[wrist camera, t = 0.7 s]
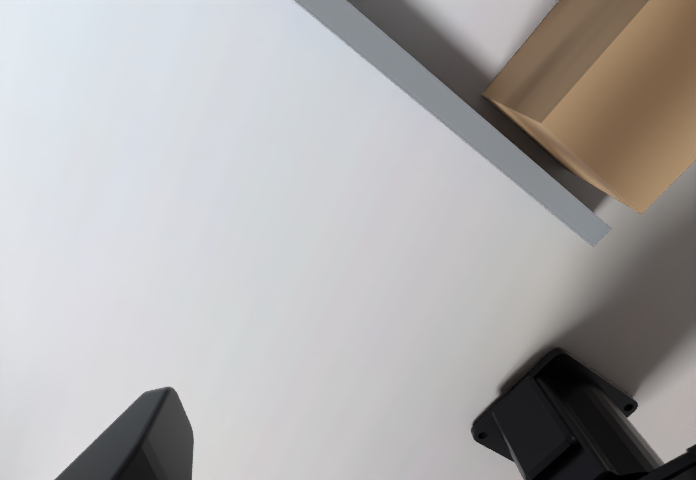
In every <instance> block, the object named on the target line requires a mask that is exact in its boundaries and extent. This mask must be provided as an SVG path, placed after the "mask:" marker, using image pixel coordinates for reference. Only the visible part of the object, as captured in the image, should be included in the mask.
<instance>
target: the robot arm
mask: <svg viewBox="0 0 696 480" xmlns="http://www.w3.org/2000/svg"><path fill="white" fill-rule="evenodd" d="M558 358H560V359H559V360H557V359H558ZM556 360H557V361H556ZM637 406H638V404H637V402H636V401H635V400H634V399H633V397H632V396H631V395H629V394H628V393H626V392H625V391H623V390H622V389H620V388H619V387H618V386H616V385H615V384H613V383H612V382H610V381H609V380H607V379H606V378H604V377H603V376H602V375H600V374H599V373H597V372H596V371H594V370H593V369H591V368H590V367H589V366H587V365H586V364H584V363H583V362H581V361H580V360H578V359H577V358H576V357H574V356H573V355H571V354H570V353H568V352H567V351H565V350H564V349H561V348H557V349H554V350H552V351H551V352H549V353H548V354H547V355H546V356H545V357H544V358H543V359H542V360H541V361H540V362H539V363H538V364H537V365H536V366H535V367H534V368H533V369H532V370H531V371H530V372H529V373H528V374H527V375H525V376H524V377H523V378H522V379H521V380H520V381H519V382H518V383H517V384H516V385H515V386H514V387H513V388H512V389H511V390H510V391H509V392H508V393H507V394H506V395H505V396H504V397H503V398H502V399H501V400H500V401H498V402H497V403H496V404H495V405H494V406H493V407H492V408H491V409H490V410H489V411H488V412H487V413H486V414H485V415H484V416H483V417H482V418H481V419H480V420H479V421H478V422H477V423H476V424H475V425H474V426H473V427H472V428H471V434H472V436H473V438H474V440H475V441H476V442H478V443H480V444H482V445H484V446H485V447H487V448H489V449H491V450H493V451H495V452H496V453H498V454H500V455H502V456H504V457H506V458H507V459H509V460H511V461H513V462H515V463H516V465H517V467H518V469H519V471H520V473H521V475H522V477H523V479H524V480H696V444H695V445H693V446H691V447H690V448H688V449H686V451H687V452H686V453H684V454H682V455H680V456H679V457H677V458H675V459H673V460H671V461H669V462H668V463H666V464H664V462H663V461H662V460H661V459H660V457H659V456H658V455H657V454H656V453H655V451H654V450H653V449H652V448H651V447H650V445H649V444H648V443H647V442H646V441H645V439H644V438H643V437H642V436H641V435H640V433H639V432H638V431H637V430H636V429H635V427H634V426H633V425H632V424H631V422H630V421H629V420H628V419H627V417H628V416H630V415H631V414H632V413H633V412H634V411H635V410H636V409H637ZM481 432H482V433H481ZM193 444H194V439H193V431H192V427H191V424H190V422H189V420H188V417H187V415H186V413H185V410H184V408H183V406H182V403H181V401H180V399H179V396H178V394H177V392H176V391H175V390H174V388H171V387H164V388H160V389H155V390H151V391H147V392H145V393H143V394H142V395H141V396H140V397H139V398H138V399H137V400H136V401H135V402H134V403H133V404H132V405H131V406H130V407H129V408H128V409H127V410H125V411H124V412H123V413H122V414H121V415H120V416H119V417H118V418H117V419H116V420H115V421H114V422H113V423H112V424H111V425H110V426H109V427H108V428H107V429H106V430H105V431H104V432H103V433H102V434H101V435H100V436H99V437H98V438H97V439H96V440H95V441H94V442H93V443H92V444H91V445H90V446H89V447H88V448H87V449H86V450H85V451H83V452H82V453H81V454H80V455H79V456H78V457H77V458H76V459H75V460H74V461H73V462H72V463H71V464H70V465H69V466H68V467H67V468H66V469H65V470H64V471H63V472H62V473H61V474H60V475H59V476H58V477H57V478H56V479H55V480H192V463H193Z"/></svg>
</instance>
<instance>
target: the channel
mask: <svg viewBox="0 0 696 480" xmlns="http://www.w3.org/2000/svg"><path fill="white" fill-rule="evenodd" d="M294 1H295V2H296V3H297V4H299V5H300V6H301V7H302V8H303V9H305V10H306V11H307V12H308V13H309V14H311V15H312V16H313V17H314V18H316V19H317V20H318V21H319V22H320V23H322V24H323V25H324V26H325V27H326V28H328V29H329V30H330V31H331V32H333V33H334V34H335V35H336V36H337V37H339V38H340V39H341V40H342V41H343V42H345V43H346V44H347V45H348V46H350V47H351V48H352V49H353V50H354V51H356V52H357V53H358V54H359V55H360V56H362V57H363V58H364V59H365V60H367V61H368V62H369V63H370V64H371V65H373V66H374V67H375V68H376V69H377V70H379V71H380V72H381V73H382V74H383V75H385V76H386V77H387V78H388V79H390V80H391V81H392V82H393V83H394V84H396V85H397V86H398V87H399V88H400V89H402V90H403V91H404V92H405V93H407V94H408V95H409V96H410V97H411V98H413V99H414V100H415V101H416V102H417V103H419V104H420V105H421V106H422V107H424V108H425V109H426V110H427V111H428V112H430V113H431V114H432V115H433V116H434V117H436V118H437V119H438V120H439V121H441V122H442V123H443V124H444V125H445V126H447V127H448V128H449V129H450V130H451V131H453V132H454V133H455V134H456V135H458V136H459V137H460V138H461V139H462V140H464V141H465V142H466V143H467V144H468V145H470V146H471V147H472V148H473V149H475V150H476V151H477V152H478V153H479V154H481V155H482V156H483V157H484V158H485V159H487V160H488V161H489V162H490V163H492V164H493V165H494V166H495V167H496V168H498V169H499V170H500V171H501V172H502V173H504V174H505V175H506V176H507V177H509V178H510V179H511V180H512V181H513V182H515V183H516V184H517V185H518V186H519V187H521V188H522V189H523V190H524V191H525V192H527V193H528V194H529V195H530V196H532V197H533V198H534V199H535V200H536V201H538V202H539V203H540V204H541V205H542V206H544V207H545V208H546V209H547V210H549V211H550V212H551V213H552V214H553V215H555V216H556V217H557V218H558V219H559V220H561V221H562V222H563V223H564V224H566V225H567V226H568V227H569V228H570V229H572V230H573V231H574V232H575V233H577V234H578V235H579V236H580V237H582V238H583V239H584V240H585V241H587V242H588V243H589V244H590V245H592V246H593V247H594V246H595V245H596V244H597V243H598V242H599V241H600V240H601V239H602V238H603V237H604V236H605V235H606V234H607V233H608V232H609V231H610V230H611V229H612V228H610V227H609V226H608V225H607V224H606V223H605V222H603V221H602V220H601V219H600V218H599V217H598V216H596V215H595V214H594V213H593V212H592V211H591V210H589V209H588V208H587V207H586V206H585V205H584V204H583V203H581V202H580V201H579V200H578V199H577V198H576V197H574V196H573V195H572V194H571V193H570V192H569V191H567V190H566V189H565V188H564V187H563V186H562V185H560V184H559V183H558V182H557V181H556V180H555V179H553V178H552V177H551V176H550V175H549V174H548V173H547V172H545V171H544V170H543V169H542V168H541V167H540V166H538V165H537V164H536V163H535V162H534V161H533V160H531V159H530V158H529V157H528V156H527V155H526V154H524V153H523V152H522V151H521V150H520V149H519V148H518V147H516V146H515V145H514V144H513V143H512V142H511V141H509V140H508V139H507V138H506V137H505V136H504V135H502V134H501V133H500V132H499V131H498V130H497V129H495V128H494V127H493V126H492V125H491V124H490V123H489V122H487V121H486V120H485V119H484V118H483V117H482V116H480V115H479V114H478V113H477V112H476V111H475V110H473V109H472V108H471V107H470V106H469V105H468V104H466V103H465V102H464V101H463V100H462V99H461V98H459V97H458V96H457V95H456V94H455V93H454V92H453V91H451V90H450V89H449V88H448V87H447V86H446V85H444V84H443V83H442V82H441V81H440V80H439V79H437V78H436V77H435V76H434V75H433V74H432V73H430V72H429V71H428V70H427V69H426V68H425V67H424V66H422V65H421V64H420V63H419V62H418V61H417V60H415V59H414V58H413V57H412V56H411V55H410V54H408V53H407V52H406V51H405V50H404V49H403V48H401V47H400V46H399V45H398V44H397V43H396V42H394V41H393V40H392V39H391V38H390V37H389V36H388V35H386V34H385V33H384V32H383V31H382V30H381V29H379V28H378V27H377V26H376V25H375V24H374V23H372V22H371V21H370V20H369V19H368V18H367V17H365V16H364V15H363V14H362V13H361V12H360V11H359V10H357V9H356V8H355V7H354V6H353V5H352V4H350V3H349V2H348V1H347V0H294Z"/></svg>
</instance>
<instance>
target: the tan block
mask: <svg viewBox="0 0 696 480" xmlns="http://www.w3.org/2000/svg"><path fill="white" fill-rule="evenodd" d="M482 96H484V97H485V98H486V99H487V100H488V101H489V102H490V103H492V104H493V105H494V106H495V107H496V108H497V109H498V110H499V111H501V112H502V113H503V114H504V115H505V116H506V117H507V118H509V119H510V120H511V121H512V122H513V123H514V124H515V125H516V126H518V127H519V128H520V129H521V130H522V131H523V132H524V133H526V134H527V135H528V136H529V137H530V138H531V139H532V140H533V141H535V142H536V143H537V144H538V145H539V146H540V147H541V148H543V149H544V150H545V151H546V152H547V153H548V154H549V155H550V156H552V157H553V158H554V159H555V160H556V161H557V162H558V163H560V164H561V165H562V166H563V167H564V168H565V169H567V170H568V171H570V172H572V173H573V174H575V175H577V176H578V177H580V178H582V179H583V180H585V181H587V182H588V183H590V184H592V185H593V186H595V187H597V188H598V189H600V190H602V191H603V192H605V193H607V194H608V195H610V196H612V197H613V198H615V199H617V200H618V201H620V202H622V203H623V204H625V205H627V206H628V207H630V208H632V209H633V210H635V211H637V212H638V213H640V214H642V213H643V212H644V211H645V210H646V209H647V208H648V207H649V206H650V205H651V204H652V203H653V202H654V201H655V200H656V199H657V198H658V197H659V196H660V195H661V194H662V193H663V192H664V191H665V190H666V189H667V188H668V187H669V186H670V185H671V184H672V183H673V182H674V181H675V180H676V179H677V178H678V177H679V176H680V175H681V174H682V173H683V172H684V171H685V170H686V169H687V168H688V167H689V166H690V165H691V164H692V163H693V162H694V161H695V160H696V0H559V1H558V3H557V4H556V5H555V6H554V8H553V9H552V10H551V11H550V12H549V14H548V15H547V16H546V17H545V18H544V20H543V21H542V22H541V23H540V24H539V26H538V27H537V28H536V29H535V31H534V32H533V33H532V34H531V35H530V37H529V38H528V39H527V40H526V41H525V43H524V44H523V45H522V46H521V48H520V49H519V50H518V51H517V52H516V54H515V55H514V56H513V57H512V58H511V60H510V61H509V62H508V63H507V64H506V66H505V67H504V68H503V69H502V71H501V72H500V73H499V74H498V75H497V77H496V78H495V79H494V80H493V81H492V83H491V84H490V85H489V86H488V87H487V89H486V90H485V91H484V92H483V94H482Z"/></svg>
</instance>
